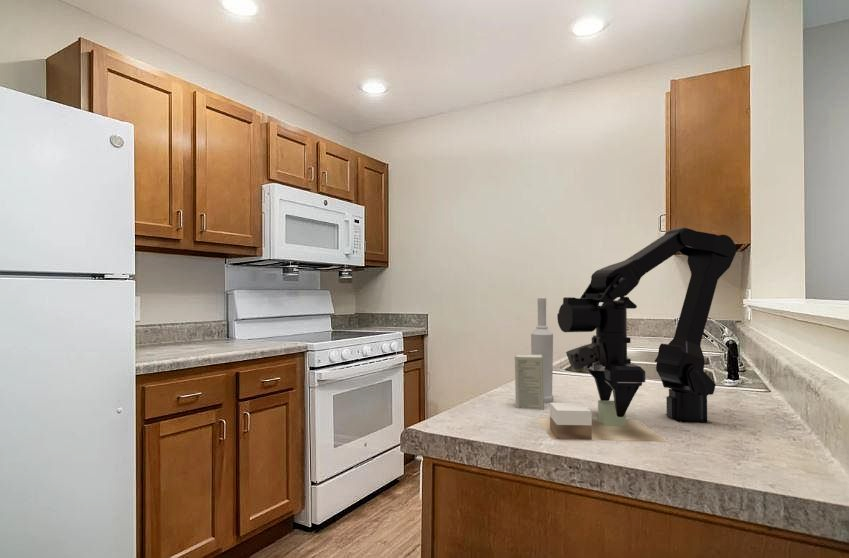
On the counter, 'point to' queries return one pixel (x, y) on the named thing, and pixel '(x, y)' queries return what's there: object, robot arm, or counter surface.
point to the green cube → (609, 414)
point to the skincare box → (529, 381)
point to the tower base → (571, 431)
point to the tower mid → (570, 414)
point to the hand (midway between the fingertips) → (611, 410)
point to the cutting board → (614, 431)
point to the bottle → (544, 349)
